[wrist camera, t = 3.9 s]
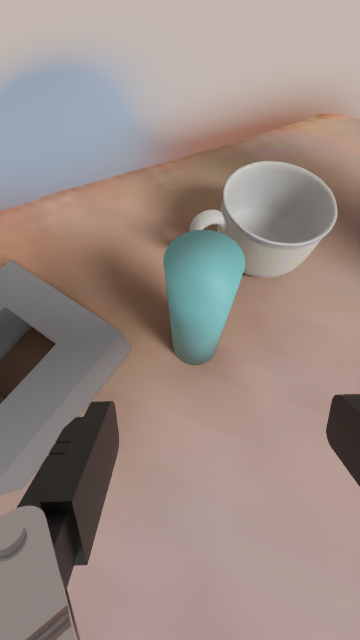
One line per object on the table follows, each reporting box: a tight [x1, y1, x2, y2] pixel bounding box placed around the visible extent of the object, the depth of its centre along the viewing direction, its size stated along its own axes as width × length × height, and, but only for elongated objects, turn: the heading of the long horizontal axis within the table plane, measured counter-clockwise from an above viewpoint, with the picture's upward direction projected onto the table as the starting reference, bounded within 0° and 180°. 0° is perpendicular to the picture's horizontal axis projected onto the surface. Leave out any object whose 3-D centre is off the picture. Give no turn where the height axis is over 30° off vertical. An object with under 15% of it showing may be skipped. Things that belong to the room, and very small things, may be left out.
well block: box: [0, 260, 131, 495], centre depth 22 cm, size 14×14×4 cm
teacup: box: [189, 161, 337, 278], centre depth 26 cm, size 14×11×8 cm
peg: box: [164, 230, 245, 365], centre depth 19 cm, size 4×4×13 cm
